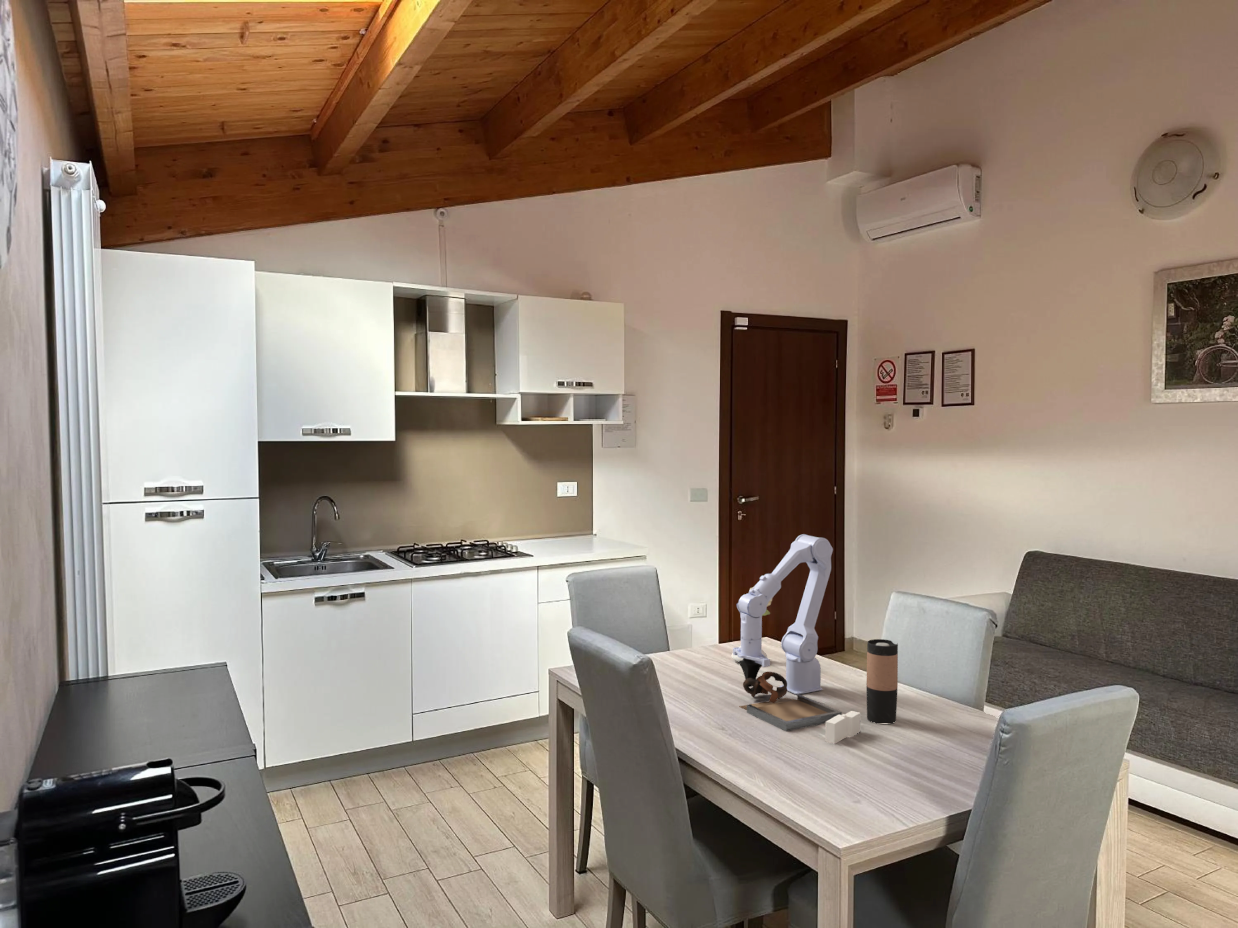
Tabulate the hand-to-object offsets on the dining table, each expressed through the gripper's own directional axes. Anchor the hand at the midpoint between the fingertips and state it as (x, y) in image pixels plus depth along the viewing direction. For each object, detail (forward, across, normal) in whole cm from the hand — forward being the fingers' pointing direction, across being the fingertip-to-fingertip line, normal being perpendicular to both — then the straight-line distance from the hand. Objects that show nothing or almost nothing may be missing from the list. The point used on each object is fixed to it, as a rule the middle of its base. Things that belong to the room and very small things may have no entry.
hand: (750, 686), depth 245 cm
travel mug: (+3, +31, +18) cm, 36 cm away
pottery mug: (+3, +4, +2) cm, 5 cm away
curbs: (+3, +18, 0) cm, 19 cm away
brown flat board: (+3, +15, 0) cm, 16 cm away
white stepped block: (+4, +36, +2) cm, 37 cm away
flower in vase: (+3, -29, +22) cm, 36 cm away
